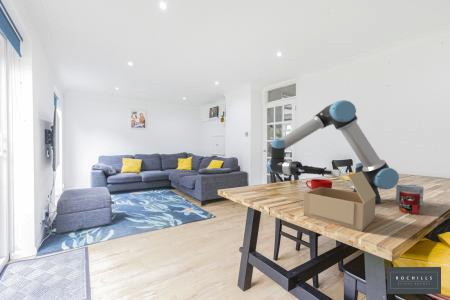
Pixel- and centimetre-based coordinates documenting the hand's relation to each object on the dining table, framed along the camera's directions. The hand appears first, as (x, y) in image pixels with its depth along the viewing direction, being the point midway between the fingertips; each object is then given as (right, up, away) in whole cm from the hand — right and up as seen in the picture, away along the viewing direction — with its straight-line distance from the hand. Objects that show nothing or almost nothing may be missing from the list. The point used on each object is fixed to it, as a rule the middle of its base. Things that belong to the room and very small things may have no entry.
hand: (339, 173), depth 96 cm
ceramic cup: (+9, -20, +44) cm, 49 cm away
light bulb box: (+56, -21, +27) cm, 66 cm away
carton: (0, -21, +1) cm, 21 cm away
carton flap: (+6, -5, -6) cm, 10 cm away
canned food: (+41, -21, +11) cm, 48 cm away
